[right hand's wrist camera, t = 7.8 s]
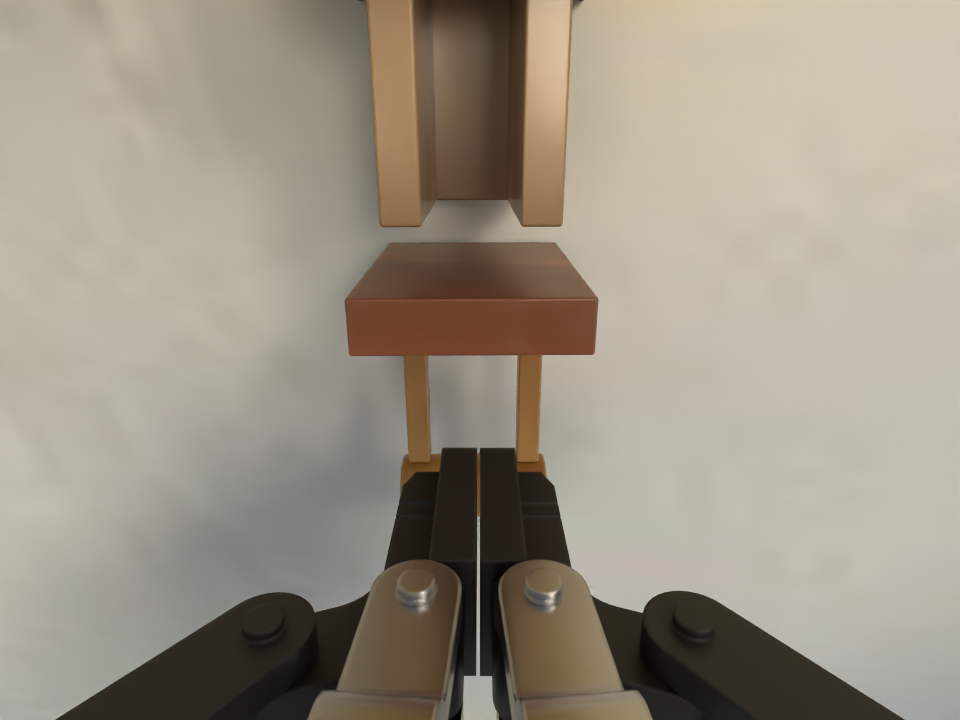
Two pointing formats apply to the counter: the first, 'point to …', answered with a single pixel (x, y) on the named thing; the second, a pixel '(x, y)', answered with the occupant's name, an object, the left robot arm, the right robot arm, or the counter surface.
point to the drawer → (470, 176)
